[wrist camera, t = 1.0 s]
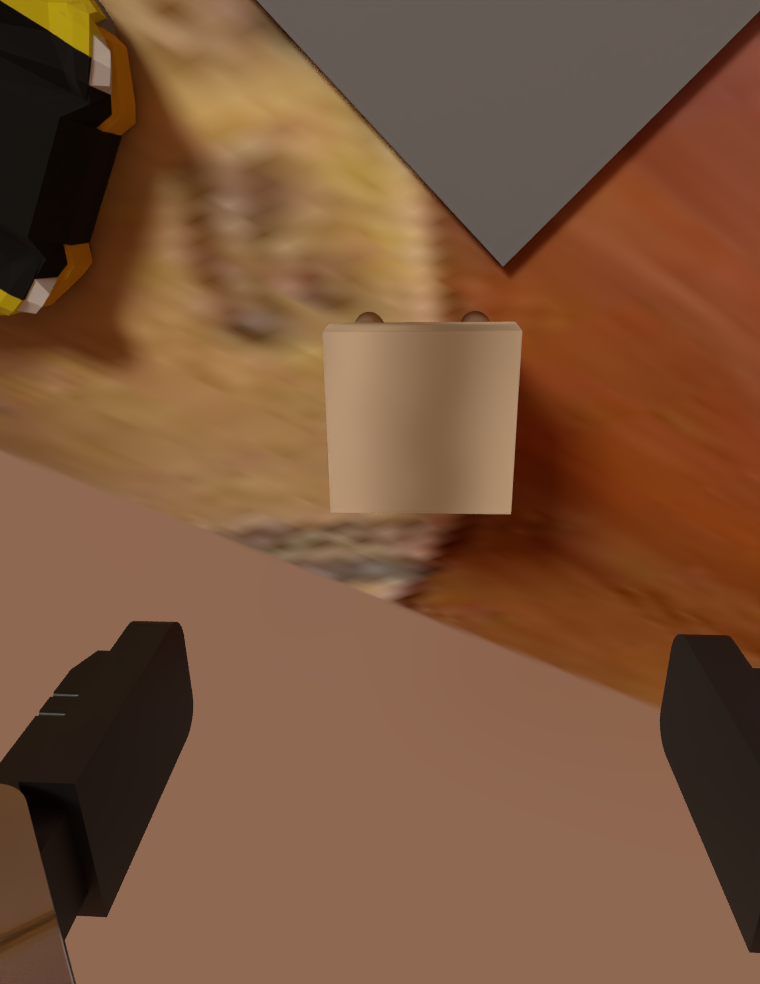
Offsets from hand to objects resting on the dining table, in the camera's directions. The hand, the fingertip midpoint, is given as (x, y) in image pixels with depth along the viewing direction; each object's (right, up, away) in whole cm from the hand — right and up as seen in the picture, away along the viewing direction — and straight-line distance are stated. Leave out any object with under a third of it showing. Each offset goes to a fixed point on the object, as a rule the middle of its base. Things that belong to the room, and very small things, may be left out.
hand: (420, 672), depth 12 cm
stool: (+1, +8, +19) cm, 20 cm away
